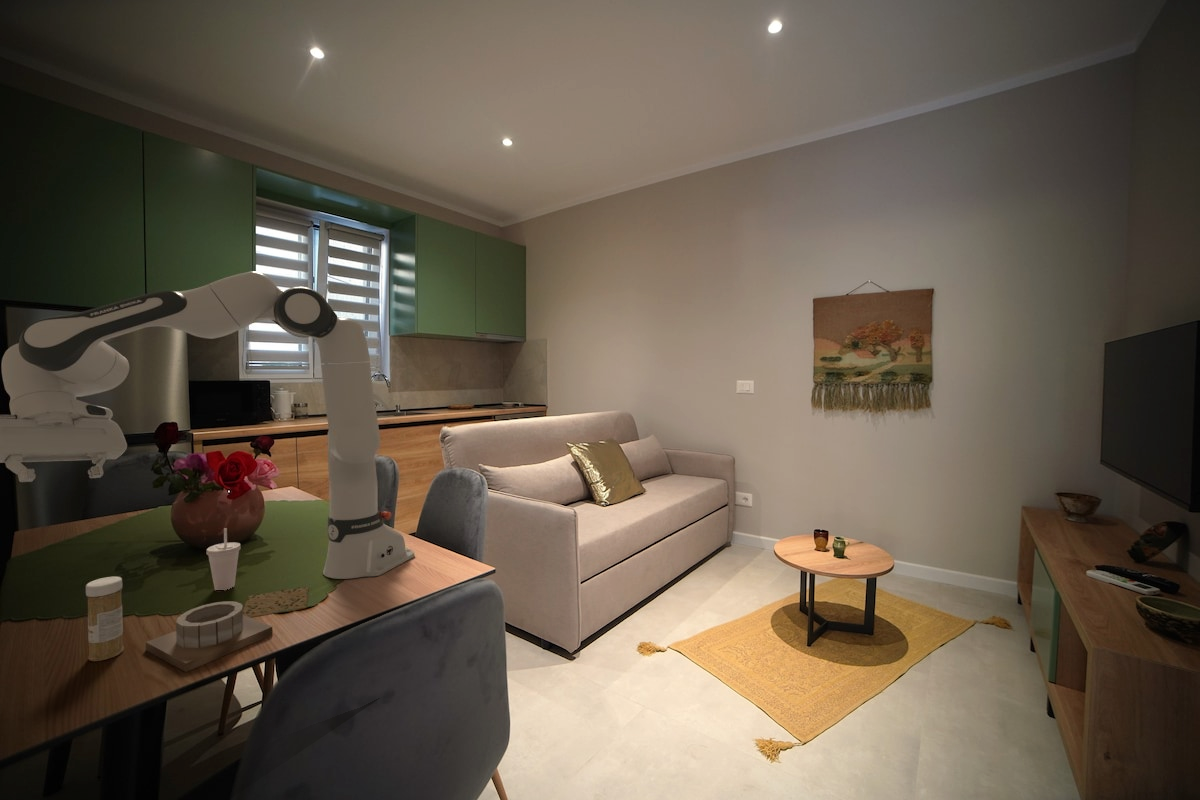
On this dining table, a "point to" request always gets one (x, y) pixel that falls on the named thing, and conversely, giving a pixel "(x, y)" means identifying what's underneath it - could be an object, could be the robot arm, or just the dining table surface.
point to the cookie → (276, 602)
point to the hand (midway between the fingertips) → (64, 478)
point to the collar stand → (208, 635)
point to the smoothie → (224, 563)
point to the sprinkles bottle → (104, 618)
